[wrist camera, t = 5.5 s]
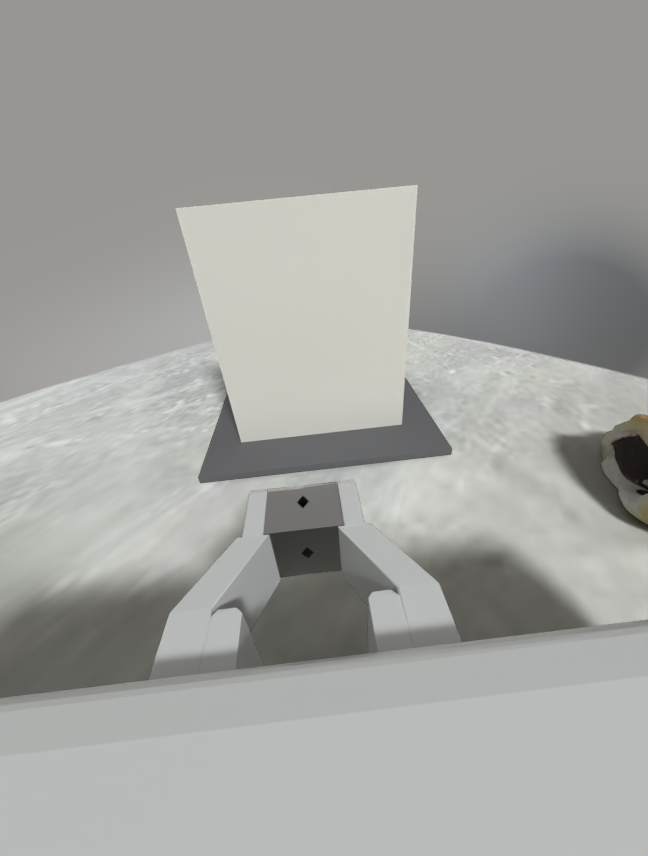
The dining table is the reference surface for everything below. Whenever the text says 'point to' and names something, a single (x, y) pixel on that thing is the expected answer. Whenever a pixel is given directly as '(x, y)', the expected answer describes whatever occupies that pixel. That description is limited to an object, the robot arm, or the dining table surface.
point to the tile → (308, 307)
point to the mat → (322, 446)
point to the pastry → (628, 463)
